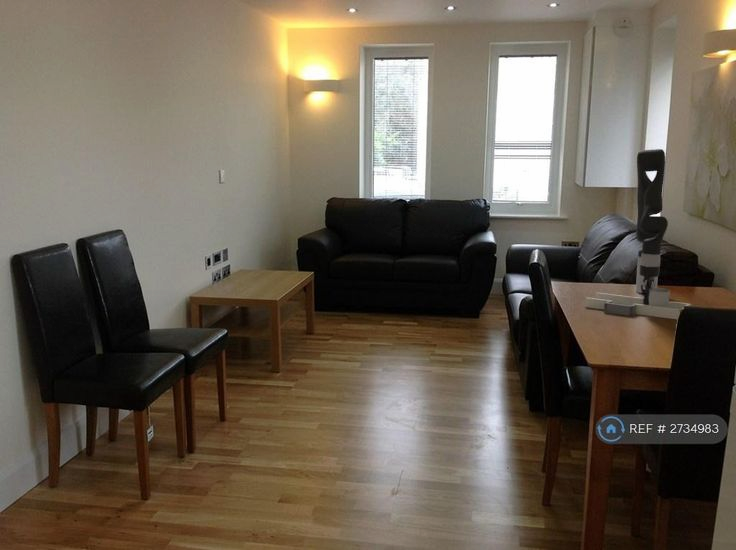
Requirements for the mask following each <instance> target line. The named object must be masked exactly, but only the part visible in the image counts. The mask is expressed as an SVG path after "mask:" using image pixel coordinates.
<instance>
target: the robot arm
mask: <svg viewBox="0 0 736 550" xmlns="http://www.w3.org/2000/svg"><path fill="white" fill-rule="evenodd" d="M665 168H666V153H665V151H664V149H661V148H658V149H657V148H656V149H643V150H642V149H641V150H639V151H638V153H637V156H636V171H637V193H636V194H637V197H636V198H637V199H636V200H637V201H636V202H637V206H636V207H637V219H636V230H635V231H636V233H635V236H636V240H637V242H638V243H639V242H640V243H642V247H641V248H642V249H639V250H638V253H637V255H638V256H637V266H636V282H635V283H636V284H635V292H636V293H638V294H641V295H642V297H643V296H644V303H643V304H644V305H649V288H650V290H652V288H658V280H659V279H658V277H659V276H660V270H661V269H660V268H661V249H662V242H663V239H664V237H665V234H666V231H667V229H668V227H669V226H668V225H669V222H668V219H667V218H666V217H665V216H662V215H661V216H659V214H661V212H662V211H663V189H664V188H663V187H664V182H665ZM647 172H656V173H655V176H654V178H653V180H651V179H650V177H649V176H648V174H647ZM656 215H658V216H656Z"/></svg>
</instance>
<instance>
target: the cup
mask: <svg viewBox="0 0 736 550" xmlns="http://www.w3.org/2000/svg"><path fill="white" fill-rule="evenodd" d="M670 296H671V290H670V289H668V288H664V287H663V288H662V287H657V288H652V290H650V288H649V305H650V306H658V307H666V308H667V305H668V302H669V299H670Z"/></svg>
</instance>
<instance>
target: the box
mask: <svg viewBox="0 0 736 550" xmlns="http://www.w3.org/2000/svg"><path fill="white" fill-rule="evenodd" d="M643 303H644V296H643V295H642V297H638V296H637V297H635V296H629V295H620V294H611V293H605V292H596V294H595V297H594V298H593V297H585V305H584V307H585V308H591V309H599V310H603V313H606V314H612V315H619V314H620V315H621V316H628V317H634V316H635V315H643V316H648V317H649V316H650V317H656V318H657V317H658V318H663V319H672V320H678V319H677V318H678V315H679V312H680V310H681V308H682V307H684V306H691V307H692V303H687V302H686V303H685V302H678V301H670V298H669V302H668V305H667V308H666V307H658V306H650V305H644V304H643Z"/></svg>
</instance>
